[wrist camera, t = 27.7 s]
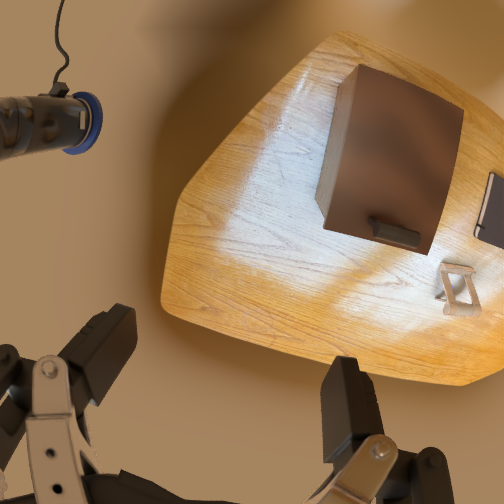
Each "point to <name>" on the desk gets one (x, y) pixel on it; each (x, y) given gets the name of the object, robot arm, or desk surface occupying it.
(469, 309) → the tablet stand
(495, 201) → the notebook
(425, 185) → the lid
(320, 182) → the chest
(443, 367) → the desk surface
